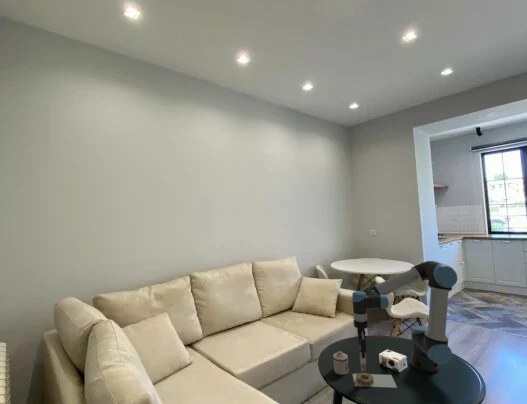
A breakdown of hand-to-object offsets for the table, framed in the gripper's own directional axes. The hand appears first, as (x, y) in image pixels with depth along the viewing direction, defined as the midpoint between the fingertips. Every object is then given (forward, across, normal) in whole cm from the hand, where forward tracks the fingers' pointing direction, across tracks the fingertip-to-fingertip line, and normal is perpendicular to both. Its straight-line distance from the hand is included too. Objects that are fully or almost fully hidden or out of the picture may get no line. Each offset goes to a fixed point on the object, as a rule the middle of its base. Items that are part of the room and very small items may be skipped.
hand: (363, 361), depth 163 cm
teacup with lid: (+12, -12, -12) cm, 21 cm away
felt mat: (+12, -2, +5) cm, 13 cm away
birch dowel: (+5, 0, 0) cm, 5 cm away
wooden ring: (+11, 0, 0) cm, 11 cm away
